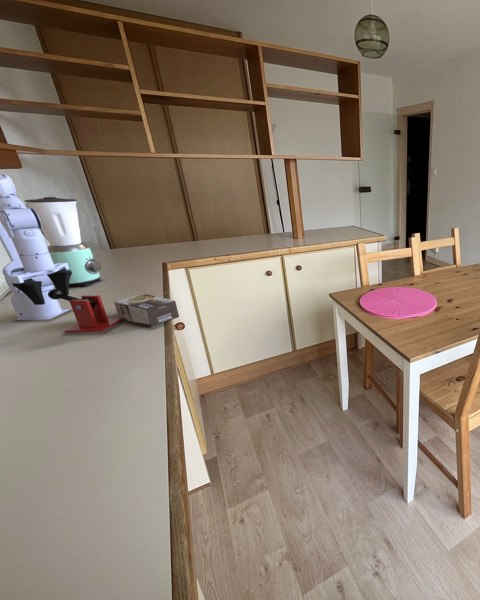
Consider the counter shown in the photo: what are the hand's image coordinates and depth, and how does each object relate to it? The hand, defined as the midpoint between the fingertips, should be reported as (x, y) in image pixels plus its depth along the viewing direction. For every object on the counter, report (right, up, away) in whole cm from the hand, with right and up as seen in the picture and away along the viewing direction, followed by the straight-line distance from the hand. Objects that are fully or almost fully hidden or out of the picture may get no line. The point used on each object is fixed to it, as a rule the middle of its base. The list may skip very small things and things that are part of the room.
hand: (52, 299), depth 91 cm
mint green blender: (-35, +6, +41) cm, 54 cm away
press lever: (+4, -1, +1) cm, 5 cm away
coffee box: (+12, -2, +13) cm, 18 cm away
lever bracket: (+8, -9, +4) cm, 13 cm away
